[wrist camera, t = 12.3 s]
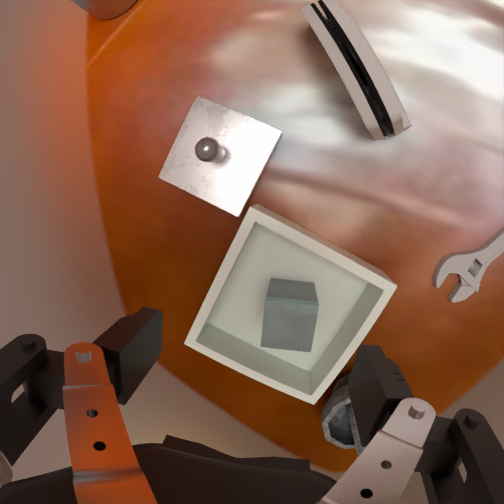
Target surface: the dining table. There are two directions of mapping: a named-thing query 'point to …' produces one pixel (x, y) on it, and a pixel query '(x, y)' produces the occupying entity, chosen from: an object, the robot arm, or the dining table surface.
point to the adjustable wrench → (468, 267)
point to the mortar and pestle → (341, 418)
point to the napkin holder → (355, 44)
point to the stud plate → (237, 160)
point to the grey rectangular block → (289, 315)
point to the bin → (254, 294)
